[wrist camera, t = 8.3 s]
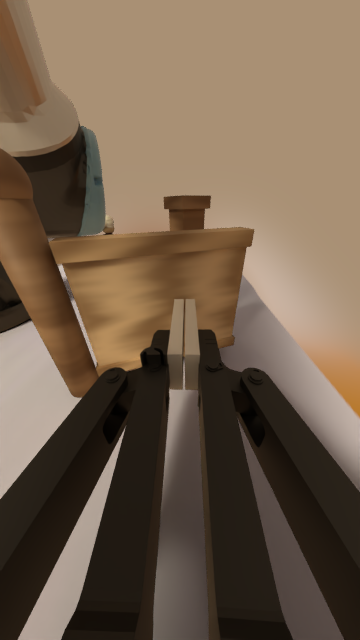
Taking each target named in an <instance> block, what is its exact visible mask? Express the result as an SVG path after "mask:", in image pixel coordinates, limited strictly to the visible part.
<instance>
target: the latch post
mask: <svg viewBox="0 0 360 640" xmlns="http://www.w3.org/2000/svg"><path fill="white" fill-rule="evenodd" d="M210 199H211V196H170V197H164V209H169V219H170V231H182V230H200V229H204V214H205V209H207V208H210Z"/></svg>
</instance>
